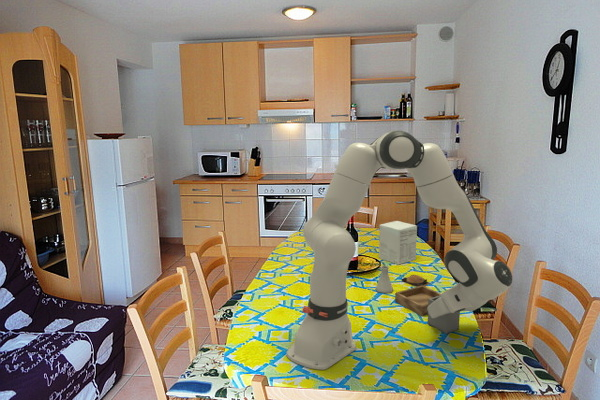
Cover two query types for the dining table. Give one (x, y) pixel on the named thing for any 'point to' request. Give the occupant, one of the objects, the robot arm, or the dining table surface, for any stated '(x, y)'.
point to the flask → (384, 281)
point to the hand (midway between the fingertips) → (442, 312)
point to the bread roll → (416, 281)
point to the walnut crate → (416, 299)
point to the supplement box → (397, 242)
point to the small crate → (444, 320)
